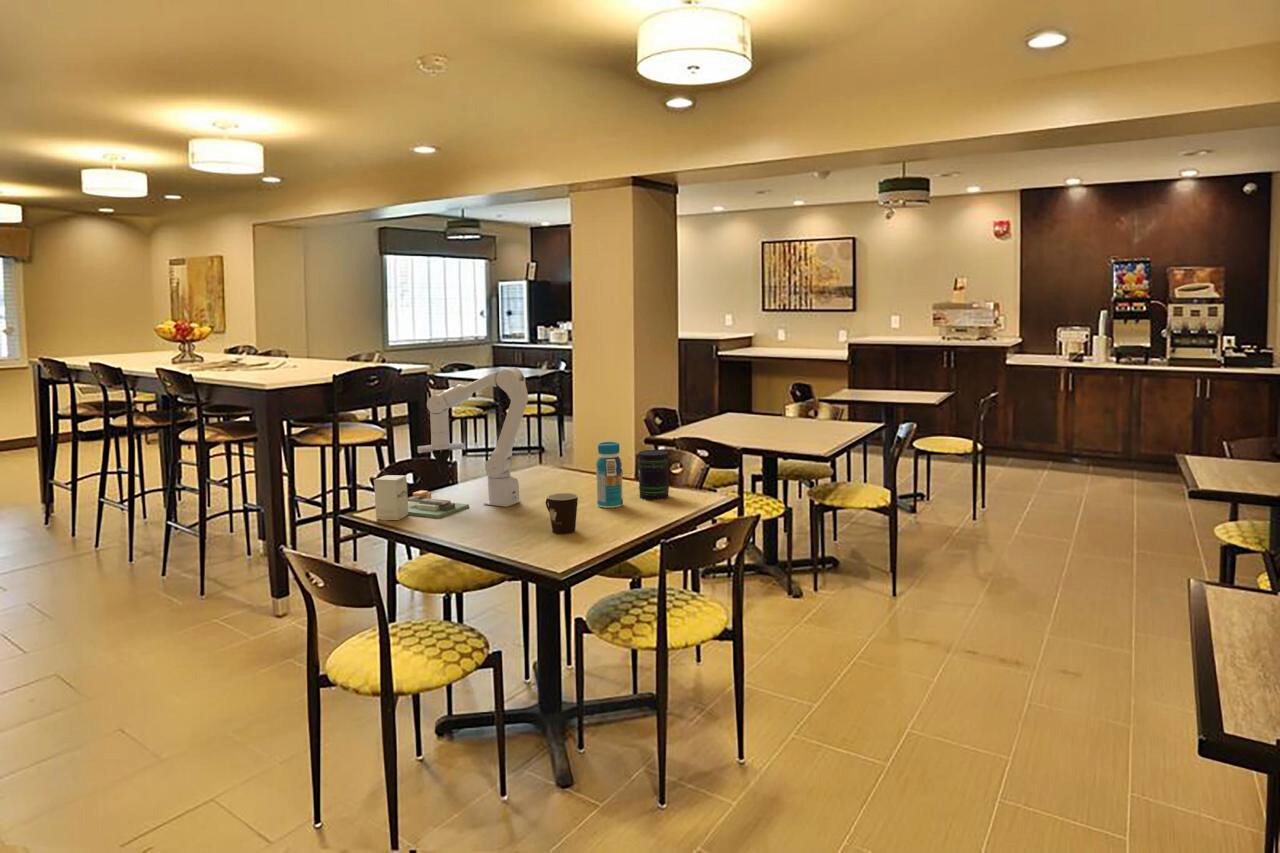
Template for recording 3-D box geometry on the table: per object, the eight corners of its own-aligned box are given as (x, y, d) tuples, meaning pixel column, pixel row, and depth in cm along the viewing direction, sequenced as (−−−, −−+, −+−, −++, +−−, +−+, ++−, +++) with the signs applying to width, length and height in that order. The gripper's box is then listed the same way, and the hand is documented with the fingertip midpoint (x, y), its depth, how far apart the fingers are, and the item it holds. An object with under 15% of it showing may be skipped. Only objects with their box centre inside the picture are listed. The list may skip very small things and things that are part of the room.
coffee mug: (582, 533, 237) (581, 498, 236) (551, 536, 235) (550, 501, 234) (573, 523, 248) (572, 490, 247) (544, 526, 246) (542, 492, 245)
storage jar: (633, 496, 282) (632, 452, 280) (656, 492, 288) (655, 448, 285) (651, 501, 274) (650, 456, 272) (675, 497, 280) (674, 452, 278)
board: (469, 507, 271) (468, 500, 271) (438, 518, 258) (438, 510, 257) (424, 502, 279) (423, 495, 278) (392, 513, 265) (392, 505, 265)
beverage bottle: (591, 507, 268) (590, 444, 265) (605, 501, 275) (603, 440, 273) (615, 509, 264) (613, 446, 261) (628, 503, 272) (626, 442, 269)
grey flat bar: (450, 503, 267) (450, 500, 267) (443, 505, 263) (443, 503, 263) (414, 498, 273) (414, 496, 273) (407, 501, 270) (406, 498, 270)
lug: (431, 502, 275) (431, 490, 275) (420, 505, 270) (420, 493, 270) (424, 501, 276) (423, 489, 276) (413, 504, 272) (412, 492, 271)
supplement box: (398, 521, 255) (395, 480, 254) (375, 520, 257) (372, 479, 255) (409, 515, 262) (407, 475, 261) (387, 514, 264) (384, 474, 262)
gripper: (419, 434, 269) (421, 477, 271) (465, 431, 274) (467, 472, 276) (415, 432, 275) (418, 473, 277) (460, 428, 281) (462, 469, 283)
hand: (442, 472), depth 277 cm, fingers closed
